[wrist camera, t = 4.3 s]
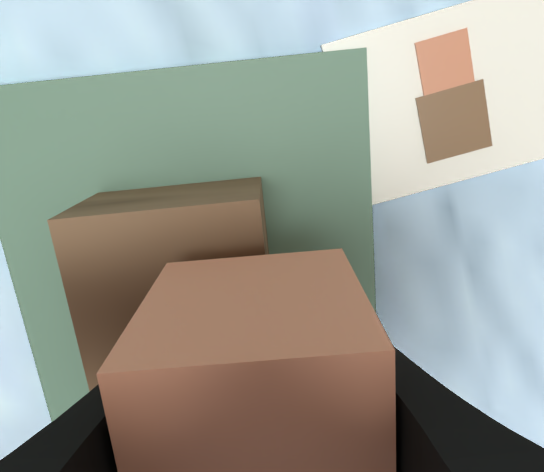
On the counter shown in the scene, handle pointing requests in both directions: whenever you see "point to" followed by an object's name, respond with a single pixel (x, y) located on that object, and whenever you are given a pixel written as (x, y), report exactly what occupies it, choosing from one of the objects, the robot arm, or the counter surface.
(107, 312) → the walnut brick
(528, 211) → the counter surface
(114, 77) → the plate
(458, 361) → the counter surface
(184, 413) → the terracotta brick
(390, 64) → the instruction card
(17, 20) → the counter surface
